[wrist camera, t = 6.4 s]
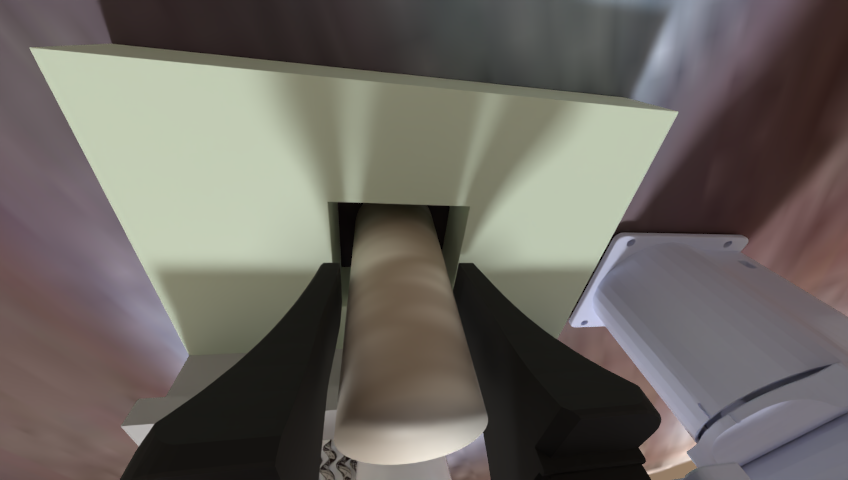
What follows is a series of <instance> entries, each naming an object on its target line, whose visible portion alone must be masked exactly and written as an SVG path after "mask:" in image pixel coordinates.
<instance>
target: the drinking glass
mask: <svg viewBox="0 0 848 480" xmlns="http://www.w3.org/2000/svg"><path fill="white" fill-rule="evenodd" d="M355 480H452V479H451V475H450V471H449V467H448V463H447V458H446V455H445V456H442V457H438V458H435V459H431V460H427V461H422V462H417V463H409V464H398V465H380V464H370V463H364V462H360V461H357V469H356V478H355Z"/></svg>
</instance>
